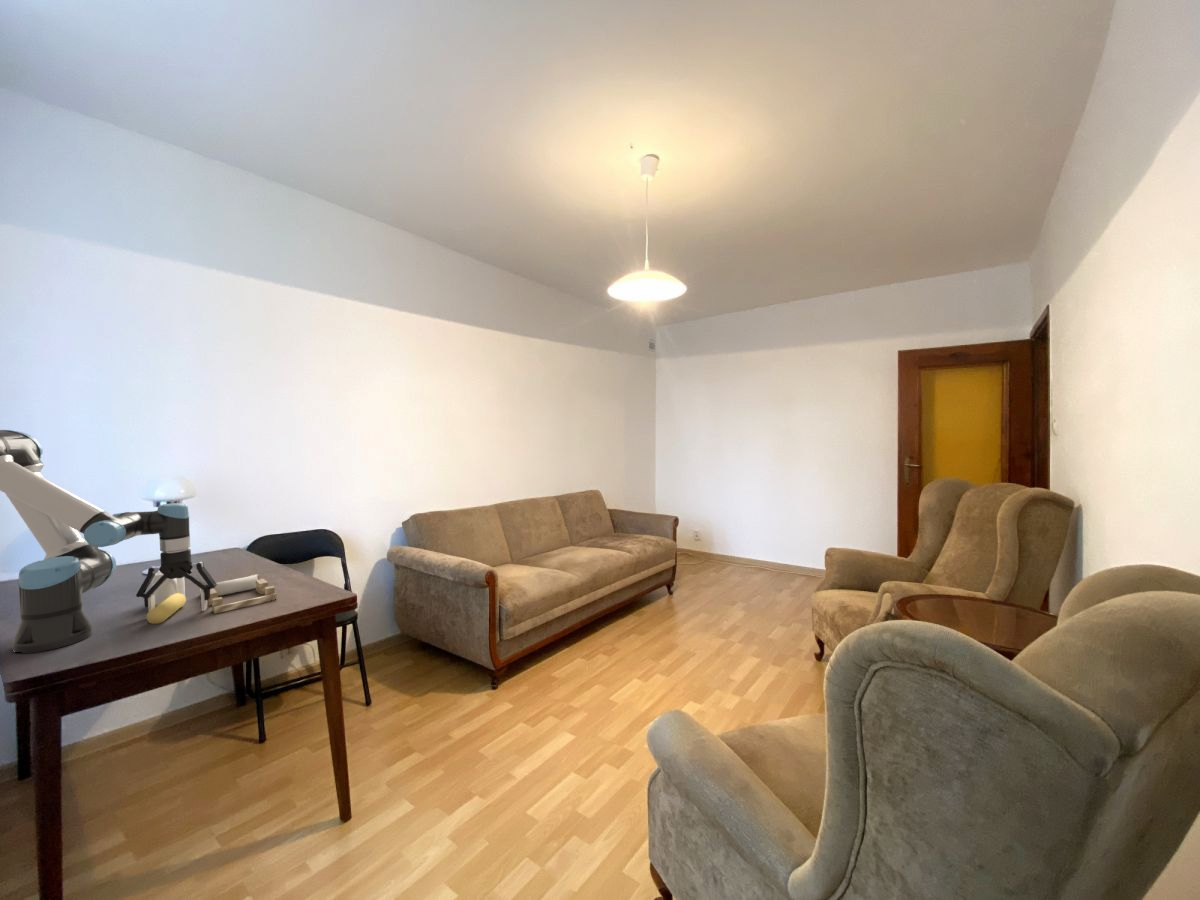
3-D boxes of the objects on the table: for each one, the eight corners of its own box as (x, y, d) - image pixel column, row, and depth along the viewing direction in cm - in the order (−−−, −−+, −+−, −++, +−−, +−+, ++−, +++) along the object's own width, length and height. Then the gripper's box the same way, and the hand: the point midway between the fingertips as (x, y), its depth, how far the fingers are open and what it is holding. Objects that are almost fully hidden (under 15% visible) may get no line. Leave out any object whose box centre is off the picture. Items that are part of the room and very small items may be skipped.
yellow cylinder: (170, 611, 151) (151, 606, 149) (161, 626, 150) (143, 621, 148) (189, 596, 165) (172, 591, 163) (181, 609, 164) (164, 604, 162)
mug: (160, 609, 162) (159, 578, 161) (149, 602, 168) (147, 572, 168) (192, 601, 169) (191, 571, 168) (180, 595, 175) (179, 566, 175)
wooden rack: (214, 613, 158) (214, 601, 157) (200, 594, 176) (199, 584, 175) (276, 599, 171) (276, 588, 170) (257, 583, 189) (256, 573, 188)
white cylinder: (208, 598, 171) (207, 584, 171) (206, 598, 174) (205, 584, 174) (258, 588, 182) (257, 575, 182) (255, 588, 185) (254, 575, 186)
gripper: (225, 543, 165) (228, 603, 166) (132, 551, 155) (135, 615, 156) (218, 548, 158) (221, 610, 159) (119, 557, 149) (123, 623, 150)
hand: (179, 613), depth 158 cm, fingers open, 13 cm apart
